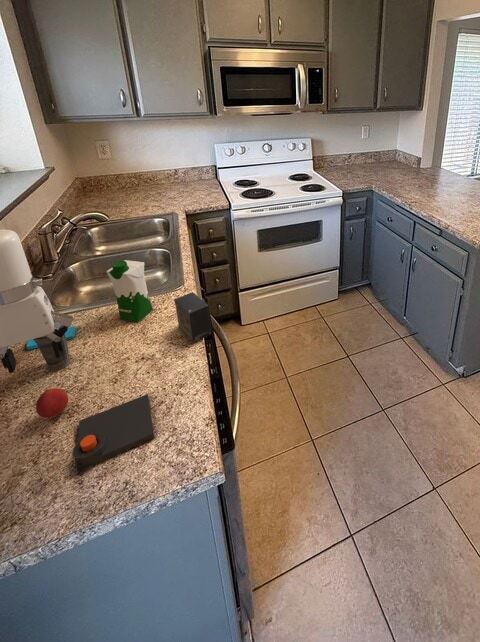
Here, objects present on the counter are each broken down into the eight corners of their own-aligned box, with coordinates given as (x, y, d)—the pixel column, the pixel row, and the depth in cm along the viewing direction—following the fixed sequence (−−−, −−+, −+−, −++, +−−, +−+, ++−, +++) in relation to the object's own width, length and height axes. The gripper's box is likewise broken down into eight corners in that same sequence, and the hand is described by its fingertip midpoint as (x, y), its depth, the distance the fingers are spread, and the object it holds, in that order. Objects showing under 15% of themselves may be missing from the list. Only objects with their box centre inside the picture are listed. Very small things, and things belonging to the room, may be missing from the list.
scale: (75, 474, 70) (72, 463, 69) (79, 425, 80) (76, 415, 79) (154, 438, 77) (152, 428, 76) (149, 398, 87) (146, 388, 86)
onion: (40, 431, 79) (30, 404, 76) (41, 413, 83) (31, 386, 80) (72, 417, 82) (63, 390, 79) (71, 400, 86) (62, 374, 84)
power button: (81, 454, 71) (79, 449, 70) (82, 443, 73) (80, 438, 72) (96, 448, 72) (95, 442, 72) (97, 437, 74) (95, 432, 74)
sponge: (29, 336, 107) (23, 346, 102) (76, 324, 112) (73, 333, 107) (31, 340, 108) (25, 351, 102) (77, 329, 113) (74, 338, 107)
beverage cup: (51, 378, 93) (28, 314, 86) (38, 368, 96) (15, 305, 90) (80, 361, 99) (61, 299, 92) (68, 351, 102) (48, 291, 96)
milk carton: (115, 320, 115) (101, 266, 109) (136, 304, 124) (123, 252, 117) (138, 324, 113) (125, 269, 106) (157, 308, 121) (146, 255, 115)
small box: (213, 333, 108) (209, 304, 105) (193, 344, 104) (187, 314, 101) (197, 318, 116) (193, 290, 112) (178, 327, 111) (172, 299, 108)
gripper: (65, 271, 78) (85, 337, 84) (-41, 294, 70) (-11, 365, 76) (62, 286, 72) (83, 356, 78) (-55, 314, 64) (-21, 390, 70)
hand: (36, 360), depth 77 cm, fingers open, 7 cm apart
